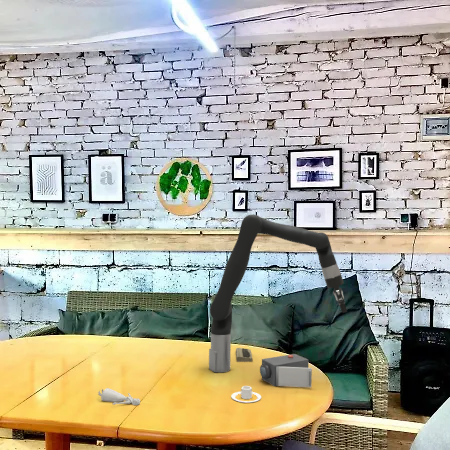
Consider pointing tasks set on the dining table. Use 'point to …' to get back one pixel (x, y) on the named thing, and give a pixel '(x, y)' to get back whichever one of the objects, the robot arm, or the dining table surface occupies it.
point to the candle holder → (246, 394)
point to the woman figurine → (117, 397)
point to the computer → (243, 355)
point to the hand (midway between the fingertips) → (344, 310)
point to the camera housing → (281, 361)
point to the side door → (293, 376)
